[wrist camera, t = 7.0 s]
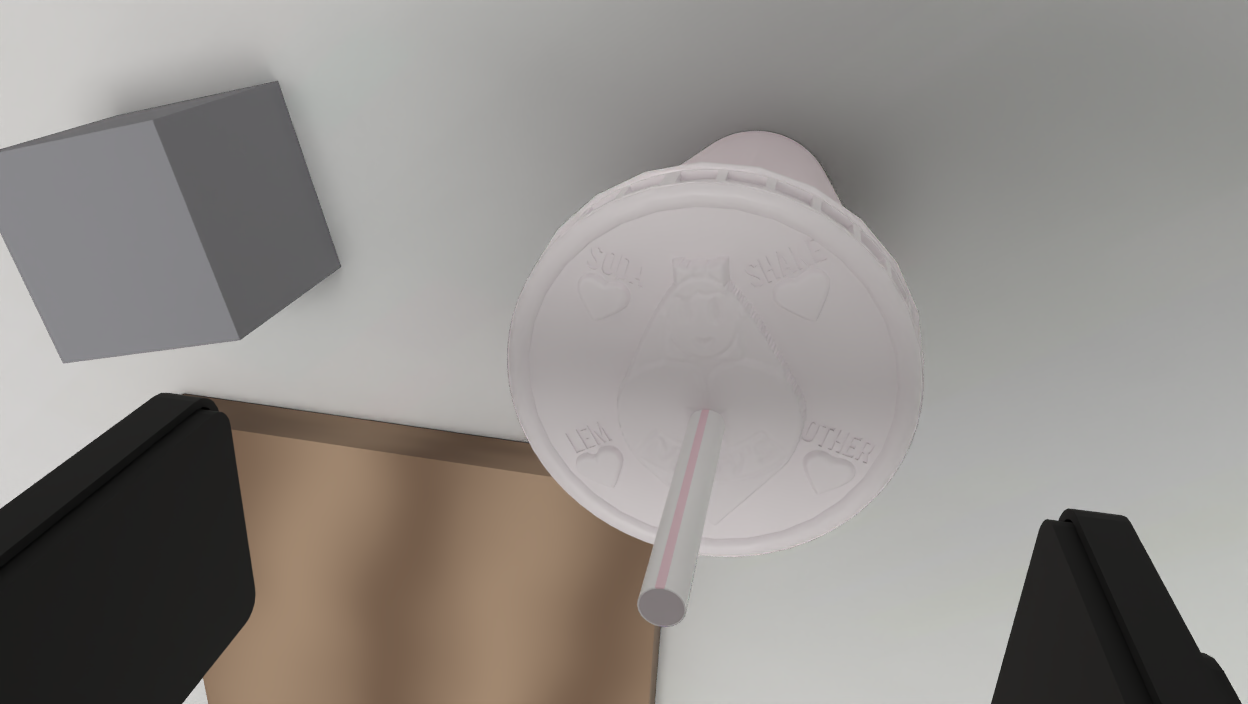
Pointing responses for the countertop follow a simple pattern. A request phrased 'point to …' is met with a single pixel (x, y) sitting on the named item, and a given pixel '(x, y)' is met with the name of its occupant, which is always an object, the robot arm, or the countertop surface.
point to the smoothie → (717, 360)
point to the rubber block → (165, 224)
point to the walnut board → (425, 573)
